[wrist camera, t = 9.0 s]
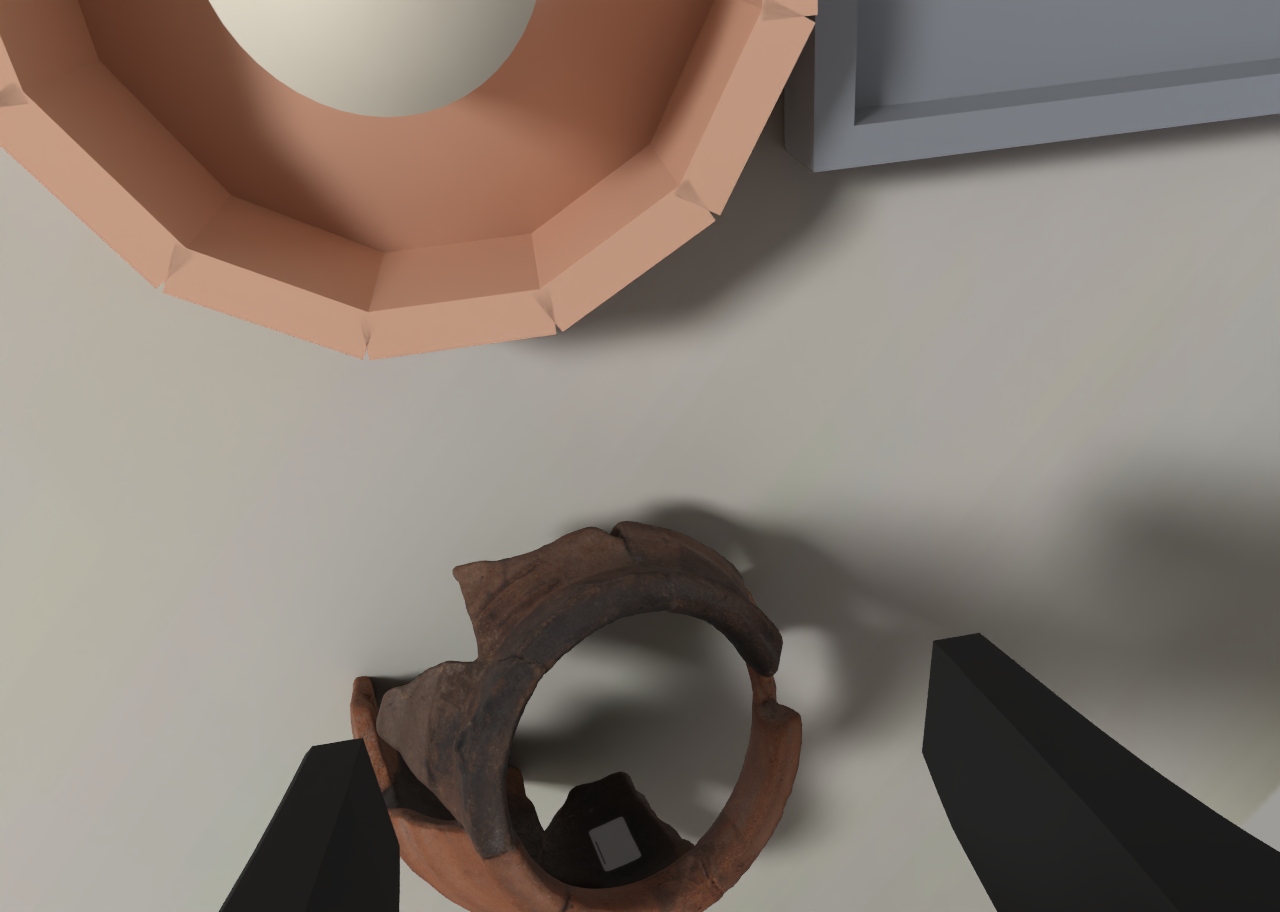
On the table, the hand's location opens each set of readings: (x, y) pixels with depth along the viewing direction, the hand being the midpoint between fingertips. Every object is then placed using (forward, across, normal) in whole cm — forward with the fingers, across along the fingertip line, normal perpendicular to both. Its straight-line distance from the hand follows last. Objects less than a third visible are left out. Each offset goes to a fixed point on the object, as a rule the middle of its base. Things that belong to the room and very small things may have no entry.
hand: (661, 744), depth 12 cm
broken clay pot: (+10, +1, +8) cm, 12 cm away
